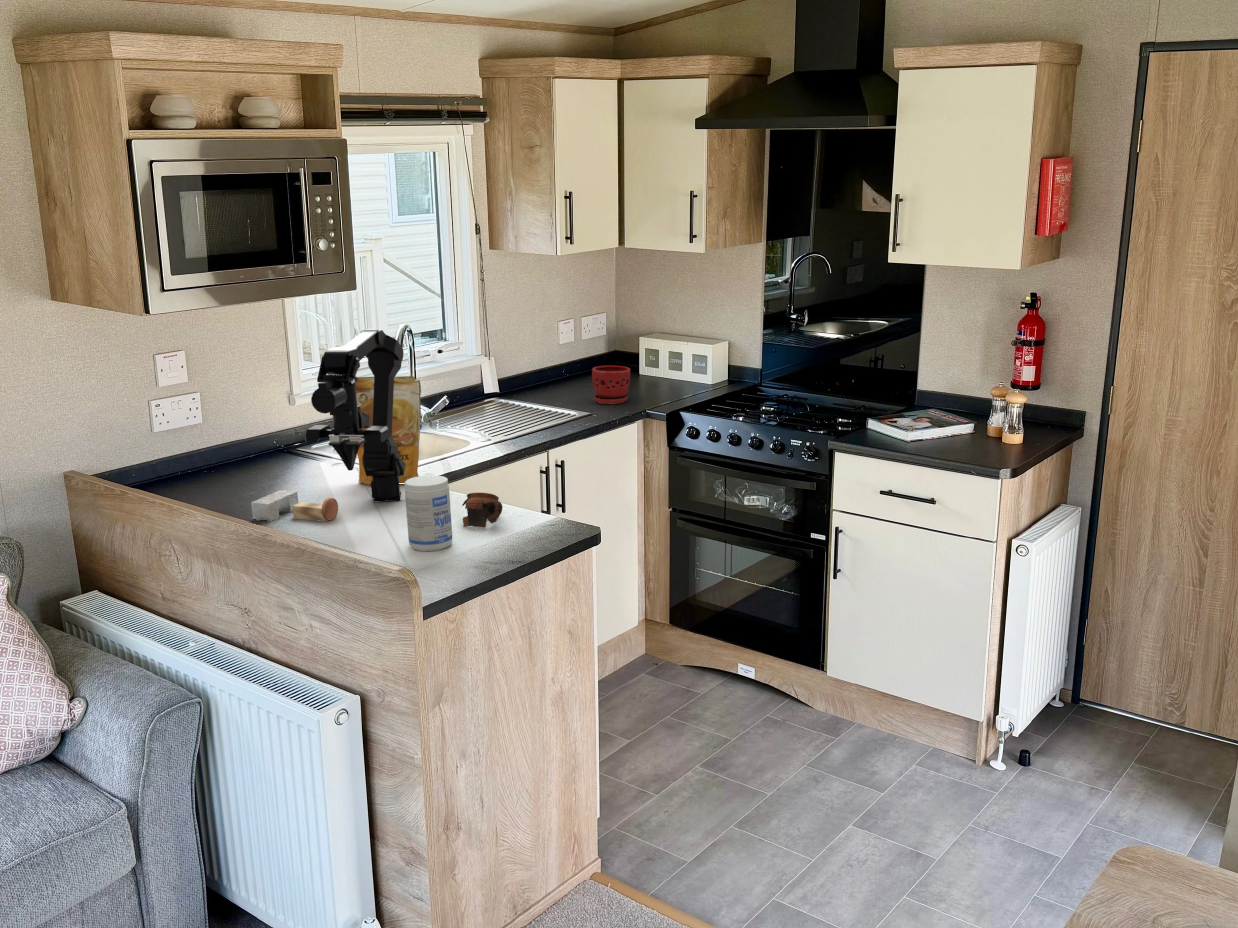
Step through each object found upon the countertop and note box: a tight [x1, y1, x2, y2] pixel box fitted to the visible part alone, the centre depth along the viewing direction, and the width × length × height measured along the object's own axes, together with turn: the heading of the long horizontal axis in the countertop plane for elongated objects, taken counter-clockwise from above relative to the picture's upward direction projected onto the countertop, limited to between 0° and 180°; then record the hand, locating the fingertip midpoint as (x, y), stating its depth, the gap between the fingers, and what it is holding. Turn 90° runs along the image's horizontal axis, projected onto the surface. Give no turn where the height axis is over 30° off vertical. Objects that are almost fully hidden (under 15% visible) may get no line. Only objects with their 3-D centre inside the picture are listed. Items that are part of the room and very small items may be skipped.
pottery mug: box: [461, 492, 503, 528], centre depth 264 cm, size 12×10×8 cm
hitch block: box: [250, 489, 299, 522], centre depth 275 cm, size 5×11×4 cm, turn 159°
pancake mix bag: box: [355, 375, 422, 486], centre depth 298 cm, size 7×19×28 cm, turn 86°
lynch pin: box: [292, 497, 339, 522], centre depth 271 cm, size 10×5×5 cm, turn 68°
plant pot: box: [591, 365, 631, 405], centre depth 392 cm, size 13×13×12 cm
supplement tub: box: [404, 474, 453, 552], centre depth 247 cm, size 10×10×15 cm
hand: (350, 470), depth 265 cm, fingers closed
